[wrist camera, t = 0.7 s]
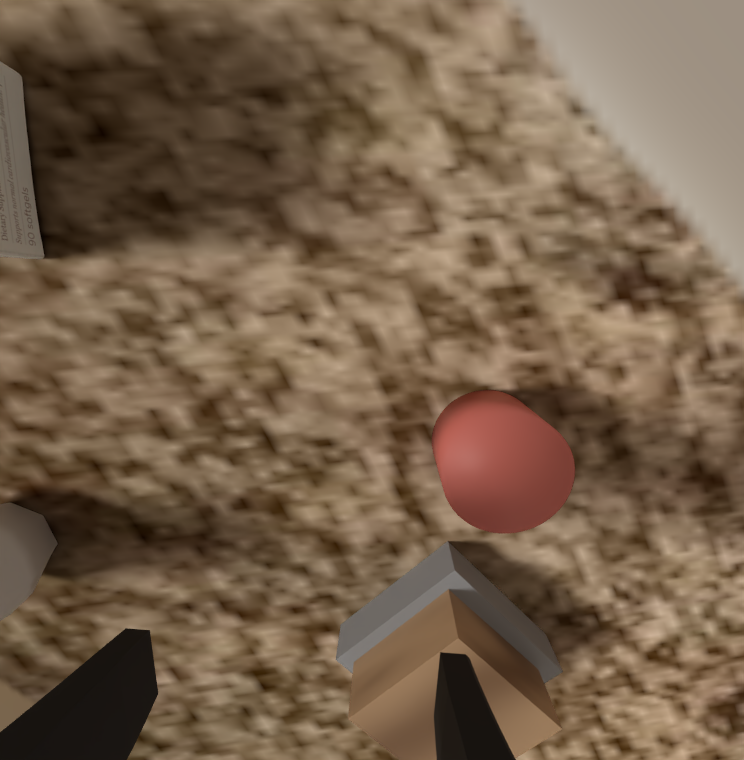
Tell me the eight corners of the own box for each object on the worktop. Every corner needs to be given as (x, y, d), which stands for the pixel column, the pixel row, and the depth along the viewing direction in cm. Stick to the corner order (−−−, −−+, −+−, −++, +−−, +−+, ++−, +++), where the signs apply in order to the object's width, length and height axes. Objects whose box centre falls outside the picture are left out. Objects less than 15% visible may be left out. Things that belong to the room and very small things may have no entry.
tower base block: (541, 625, 20) (563, 671, 18) (435, 697, 22) (441, 747, 19) (446, 534, 19) (454, 570, 17) (342, 616, 21) (335, 659, 18)
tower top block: (538, 669, 18) (562, 729, 15) (441, 734, 19) (449, 798, 16) (448, 588, 17) (458, 638, 14) (353, 662, 18) (348, 719, 16)
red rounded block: (558, 441, 17) (602, 479, 14) (478, 505, 18) (499, 555, 14) (489, 368, 16) (517, 387, 13) (410, 437, 17) (415, 473, 14)
